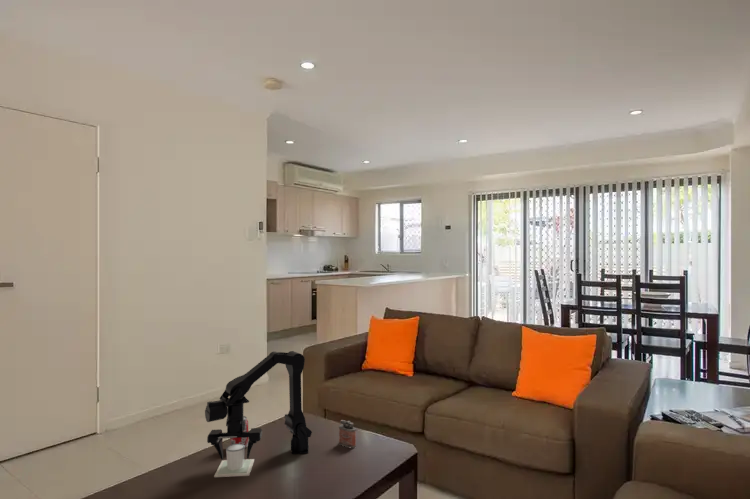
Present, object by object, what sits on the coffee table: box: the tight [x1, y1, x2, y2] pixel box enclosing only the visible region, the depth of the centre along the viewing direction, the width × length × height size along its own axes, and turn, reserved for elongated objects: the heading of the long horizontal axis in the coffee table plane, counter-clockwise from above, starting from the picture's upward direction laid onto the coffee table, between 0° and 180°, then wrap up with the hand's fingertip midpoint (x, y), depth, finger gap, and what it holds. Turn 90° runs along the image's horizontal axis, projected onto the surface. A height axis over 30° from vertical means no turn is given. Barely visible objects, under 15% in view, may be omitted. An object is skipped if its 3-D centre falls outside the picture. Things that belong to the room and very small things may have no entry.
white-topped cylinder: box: [225, 444, 246, 470], centre depth 168 cm, size 7×7×7 cm
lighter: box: [338, 419, 357, 449], centre depth 189 cm, size 8×3×10 cm, turn 58°
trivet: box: [213, 458, 255, 478], centre depth 168 cm, size 12×12×1 cm
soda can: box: [229, 415, 249, 449], centre depth 186 cm, size 7×7×12 cm
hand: (235, 458), depth 168 cm, fingers open, 9 cm apart
